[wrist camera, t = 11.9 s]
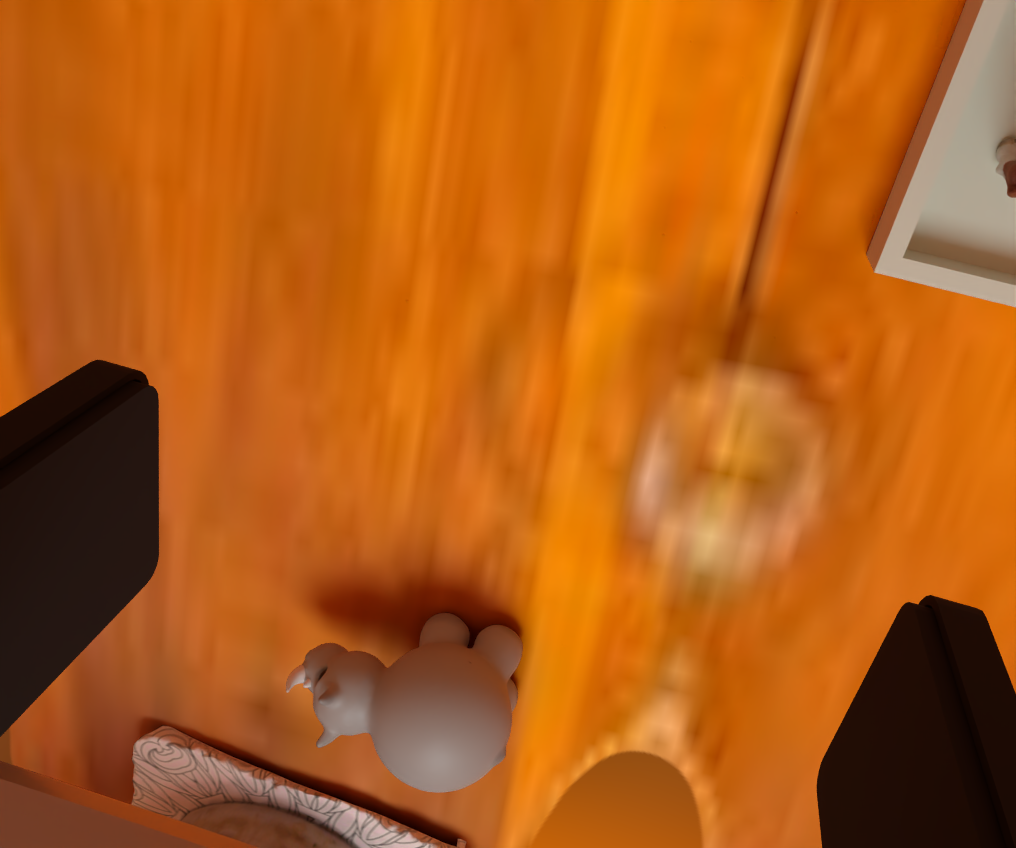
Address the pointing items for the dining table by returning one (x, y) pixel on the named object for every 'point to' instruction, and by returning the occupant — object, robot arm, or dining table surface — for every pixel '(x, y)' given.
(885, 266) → the tray
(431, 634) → the chubby cartoon animal
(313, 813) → the cookie jar
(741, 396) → the dining table surface
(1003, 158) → the bull figurine
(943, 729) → the robot arm
